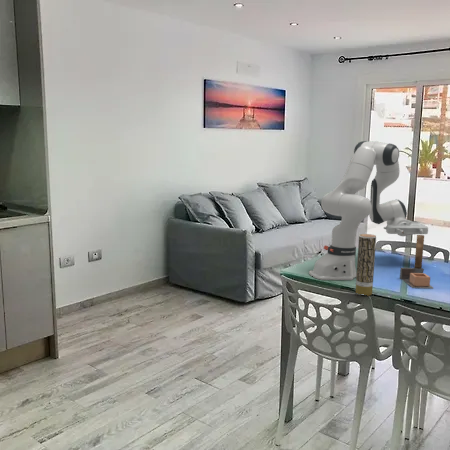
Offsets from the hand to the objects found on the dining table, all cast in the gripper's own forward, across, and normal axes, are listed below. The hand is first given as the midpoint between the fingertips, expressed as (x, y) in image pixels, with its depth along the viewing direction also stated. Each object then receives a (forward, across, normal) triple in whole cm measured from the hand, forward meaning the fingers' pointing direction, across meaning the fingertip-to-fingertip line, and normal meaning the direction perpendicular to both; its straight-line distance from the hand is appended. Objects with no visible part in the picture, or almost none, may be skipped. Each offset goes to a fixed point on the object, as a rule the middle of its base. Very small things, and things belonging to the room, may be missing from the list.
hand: (411, 232), depth 250 cm
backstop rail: (+24, -5, +19) cm, 31 cm away
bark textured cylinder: (+43, -34, +19) cm, 57 cm away
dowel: (+12, 0, +19) cm, 23 cm away
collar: (+28, -5, +19) cm, 34 cm away
